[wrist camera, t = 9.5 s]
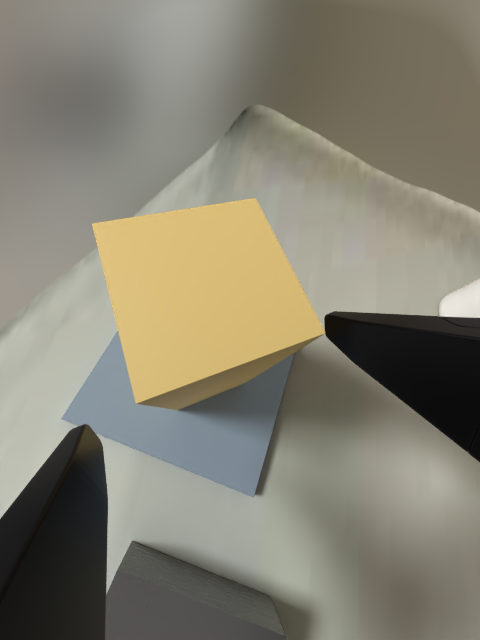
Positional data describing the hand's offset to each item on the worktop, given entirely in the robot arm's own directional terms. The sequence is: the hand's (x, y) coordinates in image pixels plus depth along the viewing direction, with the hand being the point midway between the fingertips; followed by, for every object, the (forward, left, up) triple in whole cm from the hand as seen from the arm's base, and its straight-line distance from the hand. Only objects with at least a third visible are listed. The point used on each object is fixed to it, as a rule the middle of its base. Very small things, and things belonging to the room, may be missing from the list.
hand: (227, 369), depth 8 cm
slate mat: (+1, -1, -8) cm, 9 cm away
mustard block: (+1, -1, -8) cm, 8 cm away
